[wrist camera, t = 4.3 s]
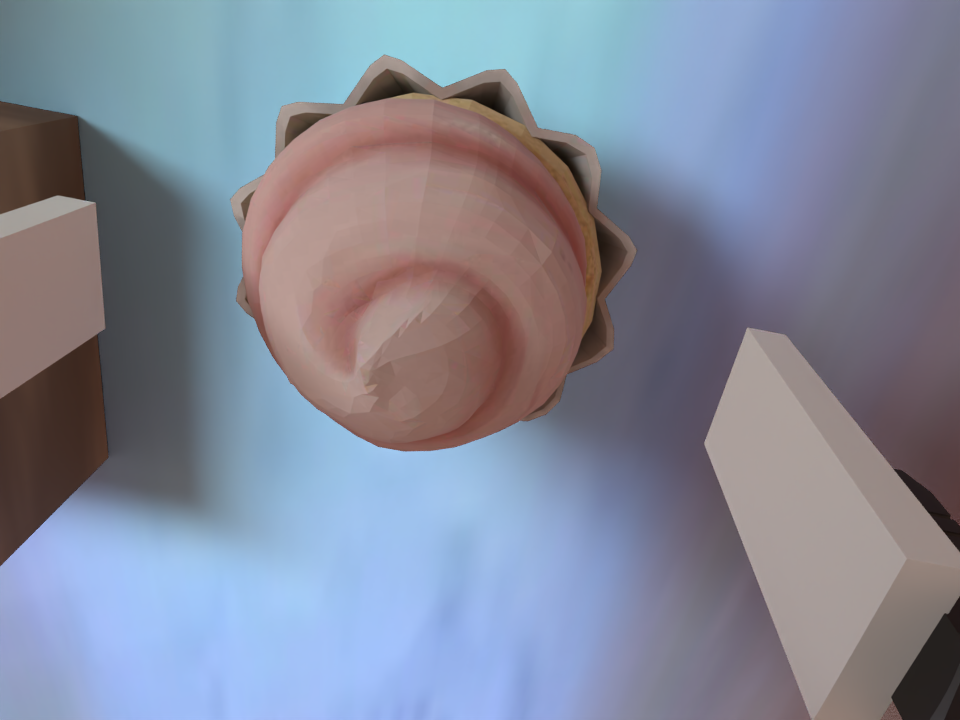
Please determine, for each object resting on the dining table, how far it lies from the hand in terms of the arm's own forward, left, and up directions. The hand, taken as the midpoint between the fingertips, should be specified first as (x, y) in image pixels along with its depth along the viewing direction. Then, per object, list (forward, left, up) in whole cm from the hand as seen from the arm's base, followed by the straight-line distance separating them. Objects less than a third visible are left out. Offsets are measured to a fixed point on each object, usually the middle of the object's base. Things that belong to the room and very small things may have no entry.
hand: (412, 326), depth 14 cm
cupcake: (0, 0, -7) cm, 7 cm away
